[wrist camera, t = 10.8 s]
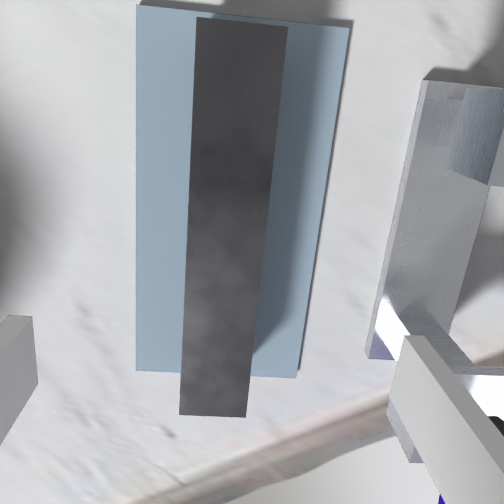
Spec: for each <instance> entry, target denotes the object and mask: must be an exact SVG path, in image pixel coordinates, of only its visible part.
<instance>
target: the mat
mask: <svg viewBox="0 0 504 504" xmlns="http://www.w3.org/2000/svg"><path fill="white" fill-rule="evenodd" d="M196 17H204V18H213V19H223V20H232V21H241V22H250V23H259V24H268V25H277V26H286V27H288V34H287V43H286V52H285V61H284V71H283V80H282V89H281V98H280V107H279V117H278V126H277V135H276V144H275V153H274V162H273V172H272V181H271V190H270V199H269V208H268V218H267V227H266V236H265V245H264V254H263V263H262V273H261V282H260V291H259V300H258V309H257V319H256V328H255V337H254V346H253V355H252V364H251V374H250V376H258V377H279V378H296V376H297V370H298V363H299V357H300V350H301V343H302V337H303V330H304V324H305V317H306V311H307V304H308V298H309V291H310V284H311V278H312V271H313V265H314V258H315V252H316V245H317V239H318V232H319V226H320V219H321V212H322V206H323V199H324V193H325V186H326V180H327V173H328V167H329V160H330V153H331V147H332V140H333V134H334V127H335V121H336V114H337V108H338V101H339V94H340V88H341V81H342V75H343V68H344V62H345V55H346V49H347V42H348V35H349V29H350V28H344V27H335V26H326V25H317V24H308V23H299V22H290V21H281V20H272V19H263V18H254V17H245V16H236V15H227V14H218V13H209V12H200V11H191V10H182V9H173V8H164V7H155V6H146V5H137V4H136V371H154V372H175V373H181V361H182V338H183V315H184V292H185V269H186V246H187V223H188V200H189V177H190V154H191V131H192V108H193V85H194V62H195V39H196Z"/></svg>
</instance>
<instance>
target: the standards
mask: <svg viewBox="0 0 504 504" xmlns="http://www.w3.org/2000/svg"><path fill="white" fill-rule="evenodd" d="M490 185H491V186H502V187H504V88H501V87H491V86H481V85H472V84H462V83H452V82H443V81H433V80H422V84H421V89H420V94H419V98H418V103H417V108H416V113H415V117H414V122H413V127H412V131H411V136H410V141H409V146H408V150H407V155H406V160H405V164H404V169H403V174H402V179H401V183H400V188H399V193H398V197H397V202H396V207H395V212H394V216H393V221H392V226H391V230H390V235H389V240H388V245H387V249H386V254H385V259H384V263H383V268H382V273H381V278H380V282H379V287H378V292H377V296H376V301H375V306H374V311H373V315H372V320H371V325H370V329H369V334H368V339H367V344H366V348H365V353H366V355H367V357H368V359H383V360H396V362H397V361H398V357H399V352H400V348H401V344H402V340H403V336H404V335H417V336H424V337H425V338H426V339H427V341H428V342H429V343H430V344H431V346H432V347H433V348H434V349H435V351H436V352H437V353H438V354H439V356H440V357H441V358H442V359H443V361H444V362H445V363H446V364H447V366H448V367H449V368H450V369H451V371H452V372H453V373H454V375H455V376H456V377H457V378H458V380H459V381H460V382H461V383H462V385H463V386H464V387H465V388H466V390H467V391H468V392H469V393H470V395H471V396H472V397H473V398H474V400H475V401H476V402H477V403H478V405H479V406H480V407H481V409H482V410H483V411H484V412H485V414H486V415H487V416H498V417H500V418H501V419H502V420H504V367H490V366H475V365H474V364H473V363H472V361H471V360H470V359H469V358H468V357H467V356H466V355H465V353H464V352H463V351H462V350H461V349H460V348H459V347H458V345H457V344H456V343H455V342H454V341H453V340H452V338H451V337H450V336H449V335H448V333H449V329H450V326H451V322H452V319H453V315H454V312H455V308H456V305H457V301H458V298H459V294H460V290H461V287H462V283H463V280H464V276H465V273H466V269H467V266H468V262H469V259H470V255H471V252H472V248H473V245H474V241H475V238H476V234H477V231H478V227H479V224H480V220H481V217H482V213H483V210H484V206H485V203H486V199H487V196H488V192H489V189H490ZM386 414H387V417H388V419H389V421H390V423H391V425H392V427H393V429H394V431H395V433H396V435H397V438H398V440H399V442H400V444H401V446H402V448H403V450H404V452H405V454H406V457H407V458H408V461H409V462H410V463H424V462H423V460H422V458H421V456H420V455H419V453H418V451H417V449H416V447H415V445H414V443H413V441H412V439H411V438H410V436H409V434H408V432H407V430H406V428H405V426H404V424H403V422H402V421H401V419H400V417H399V415H398V413H397V411H396V409H395V407H394V405H393V404H392V402H391V400H389V404H388V408H387V412H386Z"/></svg>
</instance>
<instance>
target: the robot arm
mask: <svg viewBox="0 0 504 504" xmlns="http://www.w3.org/2000/svg"><path fill="white" fill-rule="evenodd" d="M37 385H38V376H37V365H36V354H35V343H34V332H33V321H32V316H16V315H8V316H7V317H6V318H5V320H4V321H3V322H2V323H1V324H0V445H1V443H2V442H3V440H4V438H5V437H6V435H7V433H8V432H9V430H10V429H11V427H12V425H13V424H14V422H15V420H16V419H17V417H18V416H19V414H20V412H21V411H22V409H23V407H24V406H25V404H26V403H27V401H28V399H29V398H30V396H31V394H32V393H33V391H34V390H35V388H36V386H37ZM389 398H390V400H391V402H392V404H393V405H394V407H395V409H396V411H397V413H398V415H399V417H400V419H401V421H402V422H403V424H404V426H405V428H406V430H407V432H408V434H409V436H410V438H411V439H412V441H413V443H414V445H415V447H416V449H417V451H418V453H419V455H420V456H421V458H422V460H423V462H424V464H425V466H426V468H427V470H428V472H429V473H430V475H431V477H432V479H433V481H434V483H435V485H436V487H437V489H438V491H439V492H440V494H441V496H442V498H443V500H444V502H445V504H504V420H502V419H501V418H500V417H498V416H487V415H486V414H485V412H484V411H483V410H482V409H481V407H480V406H479V405H478V403H477V402H476V401H475V400H474V398H473V397H472V396H471V395H470V393H469V392H468V391H467V390H466V388H465V387H464V386H463V385H462V383H461V382H460V381H459V380H458V378H457V377H456V376H455V375H454V373H453V372H452V371H451V369H450V368H449V367H448V366H447V364H446V363H445V362H444V361H443V359H442V358H441V357H440V356H439V354H438V353H437V352H436V351H435V349H434V348H433V347H432V346H431V344H430V343H429V342H428V341H427V339H426V338H425V337H424V336H417V335H404V336H403V340H402V344H401V348H400V352H399V357H398V361H397V365H396V369H395V373H394V377H393V381H392V385H391V389H390V394H389Z"/></svg>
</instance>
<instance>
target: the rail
mask: <svg viewBox="0 0 504 504" xmlns="http://www.w3.org/2000/svg"><path fill="white" fill-rule="evenodd" d="M287 34H288V27H286V26H277V25H268V24H259V23H250V22H241V21H232V20H223V19H213V18H204V17H196V39H195V62H194V85H193V108H192V131H191V154H190V177H189V200H188V223H187V246H186V269H185V292H184V315H183V338H182V361H181V384H180V407H179V415H195V416H220V417H244V418H246V410H247V401H248V392H249V383H250V374H251V364H252V355H253V346H254V337H255V328H256V319H257V309H258V300H259V291H260V282H261V273H262V263H263V254H264V245H265V236H266V227H267V218H268V208H269V199H270V190H271V181H272V172H273V162H274V153H275V144H276V135H277V126H278V117H279V107H280V98H281V89H282V80H283V71H284V61H285V52H286V43H287Z"/></svg>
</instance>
